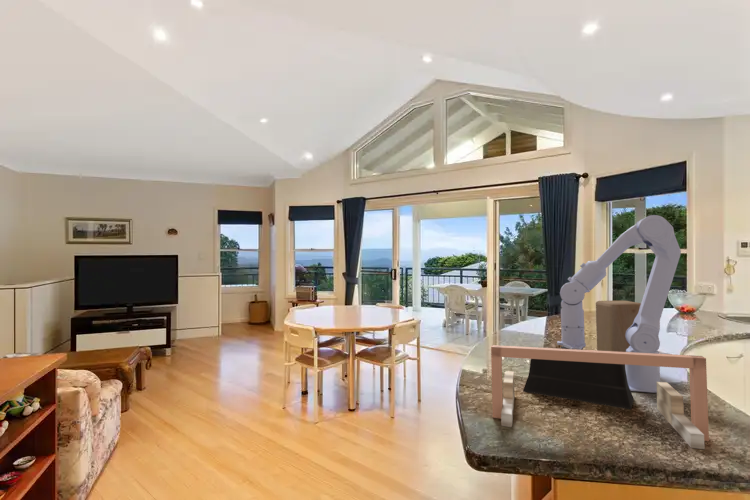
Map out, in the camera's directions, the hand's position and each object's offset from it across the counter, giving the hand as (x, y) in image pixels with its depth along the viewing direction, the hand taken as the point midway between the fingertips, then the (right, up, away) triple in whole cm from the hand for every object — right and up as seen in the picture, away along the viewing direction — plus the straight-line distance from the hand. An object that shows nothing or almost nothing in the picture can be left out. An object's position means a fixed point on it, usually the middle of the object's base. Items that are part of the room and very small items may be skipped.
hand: (574, 376), depth 113 cm
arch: (-11, -1, -30) cm, 32 cm away
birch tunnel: (-9, -1, -26) cm, 27 cm away
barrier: (-5, -2, -11) cm, 12 cm away
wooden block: (+21, -2, +14) cm, 26 cm away
